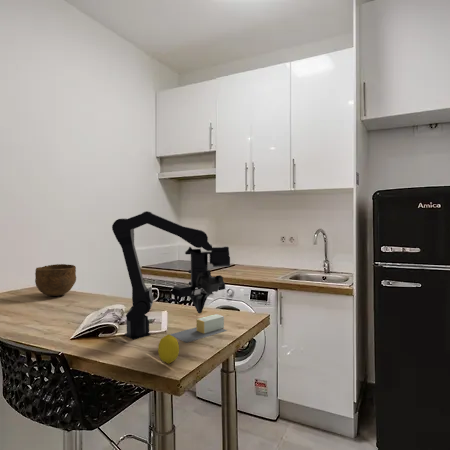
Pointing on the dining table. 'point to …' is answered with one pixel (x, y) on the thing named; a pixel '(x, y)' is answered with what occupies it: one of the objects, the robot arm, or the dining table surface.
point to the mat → (194, 334)
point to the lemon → (168, 349)
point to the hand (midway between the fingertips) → (199, 313)
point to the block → (210, 323)
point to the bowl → (55, 279)
